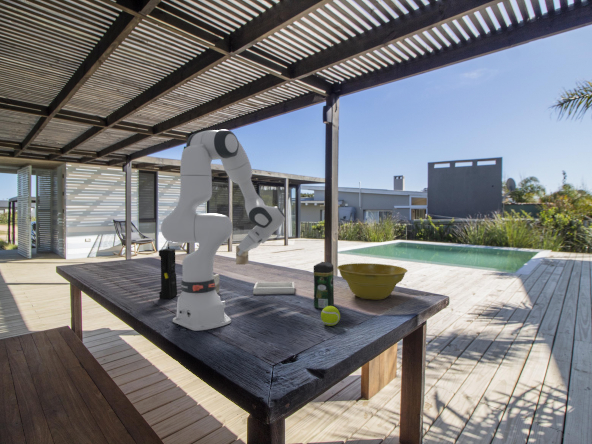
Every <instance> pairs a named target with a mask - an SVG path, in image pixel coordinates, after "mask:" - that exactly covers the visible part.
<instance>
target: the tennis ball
mask: <svg viewBox="0 0 592 444" xmlns="http://www.w3.org/2000/svg"><path fill="white" fill-rule="evenodd" d="M320 319H321V322H322V323H323V324H324V325H325V326H329V327H334V326H336V325H337V324H338V323H339V321H340V319H341V313H340V311H339V309H338V308H337V307H335V306H334V305H333V306H327V307H325V308H324V309H321V312H320Z"/></svg>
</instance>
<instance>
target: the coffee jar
mask: <svg viewBox="0 0 592 444" xmlns="http://www.w3.org/2000/svg"><path fill="white" fill-rule="evenodd" d="M334 270H335V269H334V264H333V263H331V261H321V262H319V263H316V264H315V265H313V307H314V308H316V309H319V310H323V309H324V308H325V307H327V306H334V304H335V299H334V298H335V296H334V295H335V294H334V292H335V291H334V288H335V287H334V286H335V285H334V272H335V271H334Z"/></svg>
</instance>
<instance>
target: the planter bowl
mask: <svg viewBox="0 0 592 444" xmlns="http://www.w3.org/2000/svg"><path fill="white" fill-rule="evenodd" d="M336 269H337V270H338V272H339V274H340V277H341V278H342V279H343V280H345V281H346V282H347V285H348V287H349V289H350V291H351V293H352V294H354V295H355V296H356V297H358V298H360V299H364V300H365V299H366V300H383V299H386V298H388V297H389V296H390V295H391V294H393V292H394V289H395V288H396V286H397V284H399V283H401V281H402V280H403V279H404V277H405V274H406V273H407V272H408V270H407V268H406V267H405V268H404V267H402V266H398V265H393V264H383V263H369V262H367V263H365V262H364V263H361V262H360V263H346V264H345V263H344V264H340V265H338V266H336Z"/></svg>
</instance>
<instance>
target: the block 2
mask: <svg viewBox="0 0 592 444" xmlns="http://www.w3.org/2000/svg"><path fill="white" fill-rule="evenodd" d="M238 246H239V245H236V246H235V263H236V264H235V265H242V266H244V265H248V264H249V251H248V250H247V251H244V252H243V254H242V255H241V256H239V255H238V254H237V253H238V252H239V251H240V249H239V248H238Z"/></svg>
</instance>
